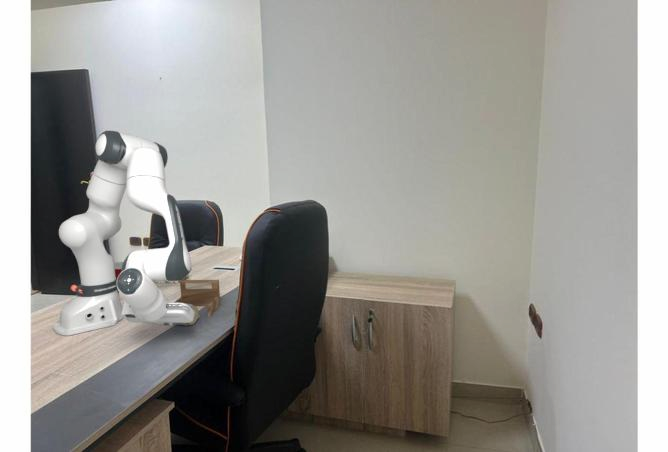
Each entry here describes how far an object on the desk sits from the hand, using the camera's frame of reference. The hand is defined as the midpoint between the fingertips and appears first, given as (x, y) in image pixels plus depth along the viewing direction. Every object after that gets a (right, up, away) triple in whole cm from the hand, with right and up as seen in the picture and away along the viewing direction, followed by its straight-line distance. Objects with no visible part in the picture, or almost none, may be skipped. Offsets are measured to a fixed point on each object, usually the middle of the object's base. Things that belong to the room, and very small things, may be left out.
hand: (168, 323), depth 144 cm
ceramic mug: (+1, -3, +13) cm, 13 cm away
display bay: (+2, 0, +24) cm, 24 cm away
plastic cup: (-38, +3, +51) cm, 63 cm away
